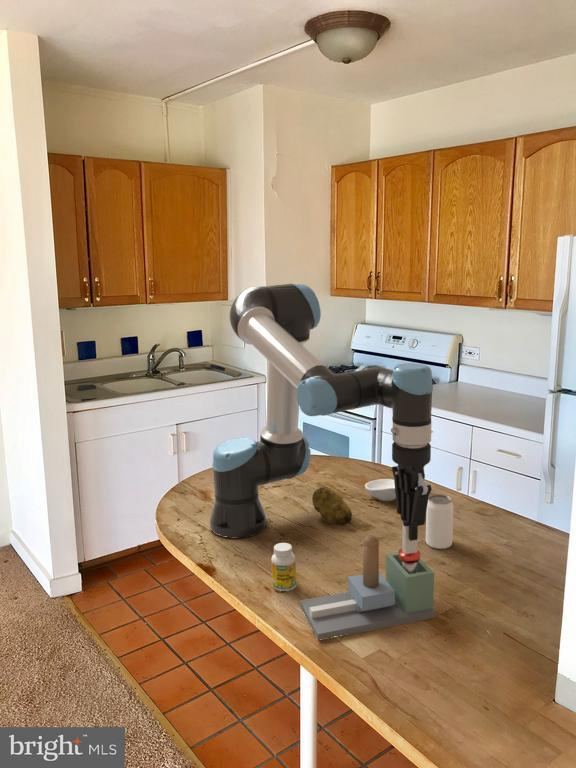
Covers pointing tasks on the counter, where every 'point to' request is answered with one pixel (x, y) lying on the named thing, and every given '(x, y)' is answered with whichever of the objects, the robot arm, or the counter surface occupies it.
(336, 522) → the potato
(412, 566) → the button
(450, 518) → the can
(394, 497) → the spoon rest
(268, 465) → the robot arm
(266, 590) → the counter surface
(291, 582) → the supplement bottle
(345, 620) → the track
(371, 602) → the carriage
